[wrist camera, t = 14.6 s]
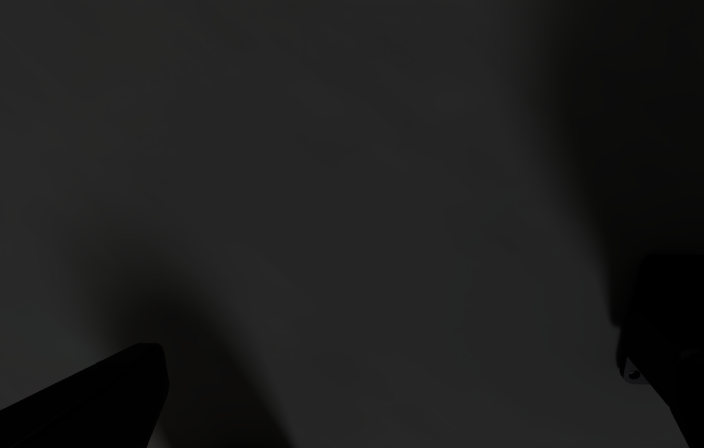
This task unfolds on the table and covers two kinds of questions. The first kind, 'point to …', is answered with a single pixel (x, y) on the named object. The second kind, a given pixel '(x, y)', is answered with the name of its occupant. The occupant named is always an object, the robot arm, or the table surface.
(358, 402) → the table surface
